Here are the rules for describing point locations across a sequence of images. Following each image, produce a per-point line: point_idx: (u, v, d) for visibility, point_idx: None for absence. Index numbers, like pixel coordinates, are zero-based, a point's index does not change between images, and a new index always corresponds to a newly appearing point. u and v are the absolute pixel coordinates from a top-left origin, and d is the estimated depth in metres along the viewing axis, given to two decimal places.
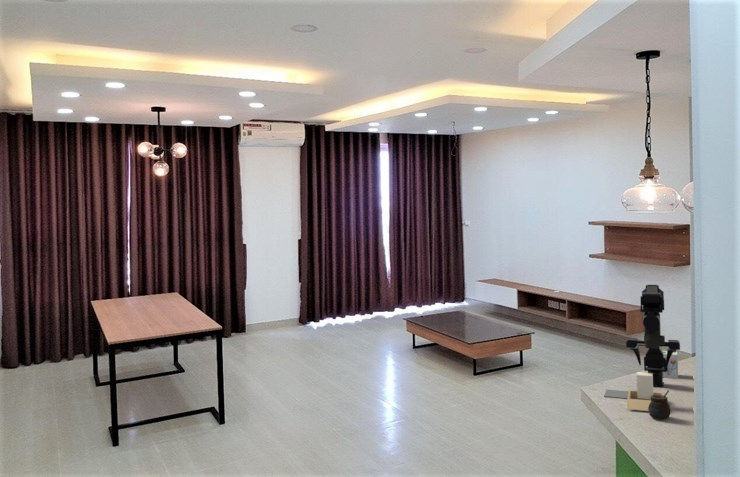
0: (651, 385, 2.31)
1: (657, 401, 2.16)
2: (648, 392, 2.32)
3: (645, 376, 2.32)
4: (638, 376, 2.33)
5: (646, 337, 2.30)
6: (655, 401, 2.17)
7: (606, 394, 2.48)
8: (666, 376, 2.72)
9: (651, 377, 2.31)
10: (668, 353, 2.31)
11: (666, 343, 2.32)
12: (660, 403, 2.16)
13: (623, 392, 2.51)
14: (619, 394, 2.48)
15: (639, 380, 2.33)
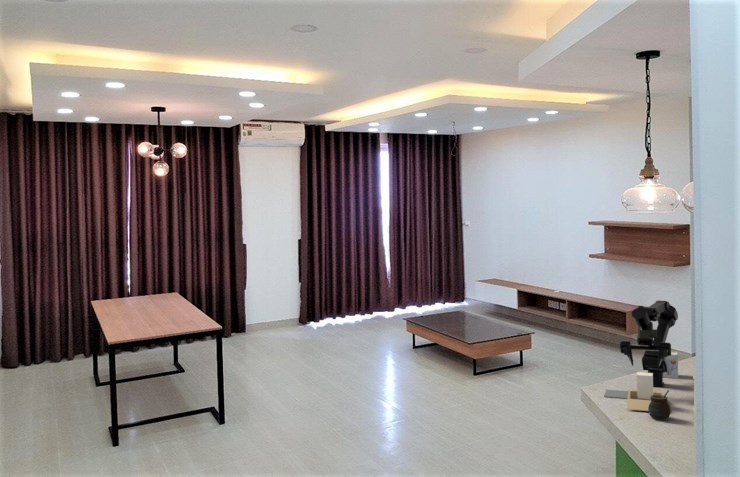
0: (651, 385, 2.31)
1: (657, 401, 2.16)
2: (648, 392, 2.32)
3: (645, 376, 2.32)
4: (638, 376, 2.33)
5: None
6: (655, 401, 2.17)
7: (606, 394, 2.48)
8: (666, 376, 2.72)
9: (651, 377, 2.31)
10: (660, 352, 2.41)
11: (658, 346, 2.44)
12: (660, 403, 2.16)
13: (623, 392, 2.51)
14: (619, 394, 2.48)
15: (639, 380, 2.33)
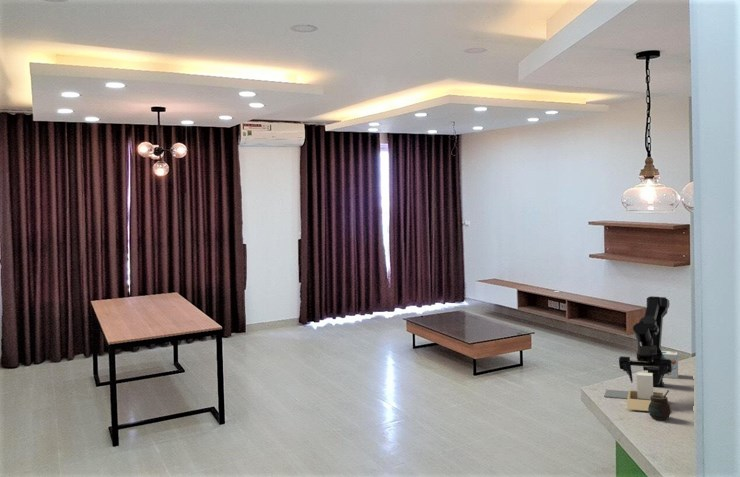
0: (651, 385, 2.31)
1: (657, 401, 2.16)
2: (648, 392, 2.32)
3: (645, 376, 2.32)
4: (638, 376, 2.33)
5: None
6: (655, 401, 2.17)
7: (606, 394, 2.48)
8: (666, 376, 2.72)
9: (651, 377, 2.31)
10: (660, 368, 2.34)
11: (658, 362, 2.38)
12: (660, 403, 2.16)
13: (623, 392, 2.51)
14: (619, 394, 2.48)
15: (639, 380, 2.33)
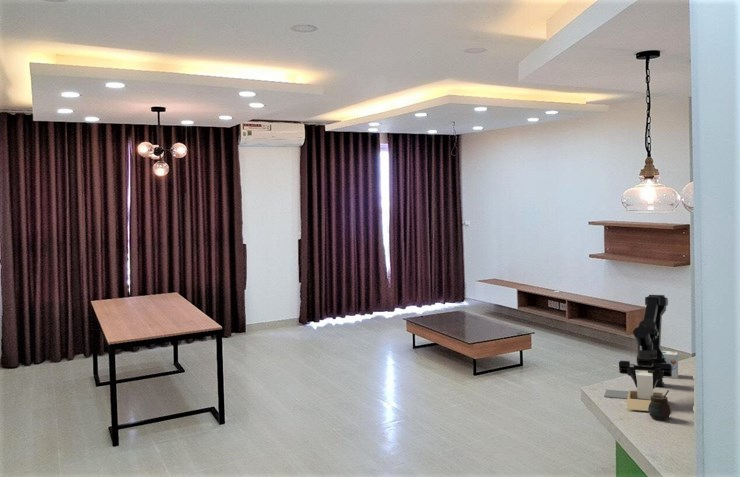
0: (651, 385, 2.31)
1: (657, 401, 2.16)
2: (648, 392, 2.32)
3: (645, 376, 2.32)
4: (638, 376, 2.33)
5: None
6: (655, 401, 2.17)
7: (606, 394, 2.48)
8: None
9: (651, 377, 2.31)
10: (655, 373, 2.34)
11: (658, 367, 2.36)
12: (660, 403, 2.16)
13: (623, 392, 2.51)
14: (619, 394, 2.48)
15: (639, 380, 2.33)
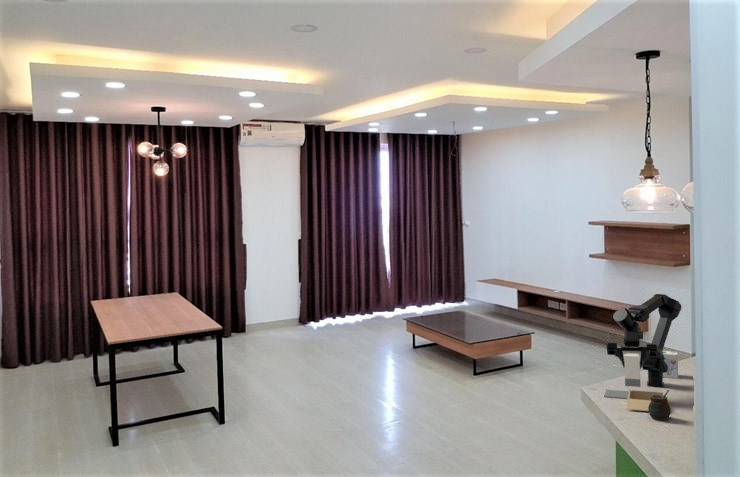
0: (638, 365, 2.38)
1: (657, 401, 2.16)
2: (635, 372, 2.38)
3: (632, 357, 2.39)
4: (625, 357, 2.40)
5: None
6: (655, 401, 2.17)
7: (606, 394, 2.48)
8: (666, 376, 2.72)
9: (638, 357, 2.38)
10: (642, 353, 2.40)
11: (644, 347, 2.43)
12: (660, 403, 2.16)
13: (623, 392, 2.51)
14: (619, 394, 2.48)
15: (626, 361, 2.39)
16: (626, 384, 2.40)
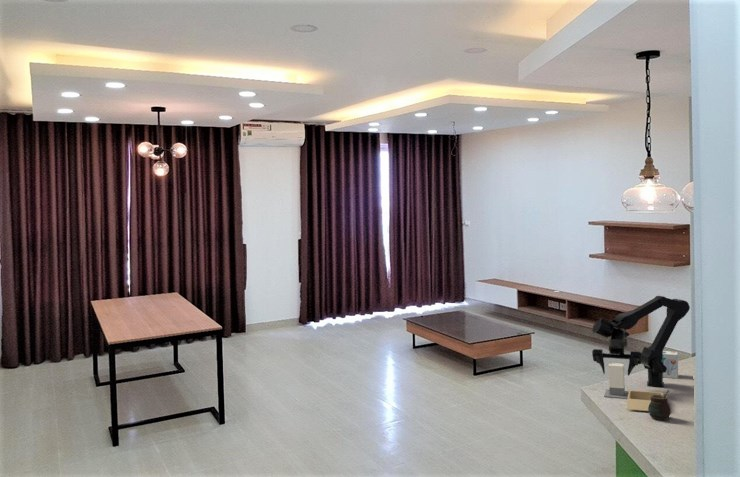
0: (622, 375, 2.46)
1: (657, 401, 2.16)
2: (619, 381, 2.47)
3: (616, 366, 2.47)
4: (610, 366, 2.48)
5: None
6: (655, 401, 2.17)
7: (606, 394, 2.48)
8: (666, 376, 2.72)
9: (622, 367, 2.46)
10: (630, 360, 2.48)
11: (629, 355, 2.51)
12: (660, 403, 2.16)
13: None
14: None
15: (611, 370, 2.48)
16: (610, 393, 2.48)
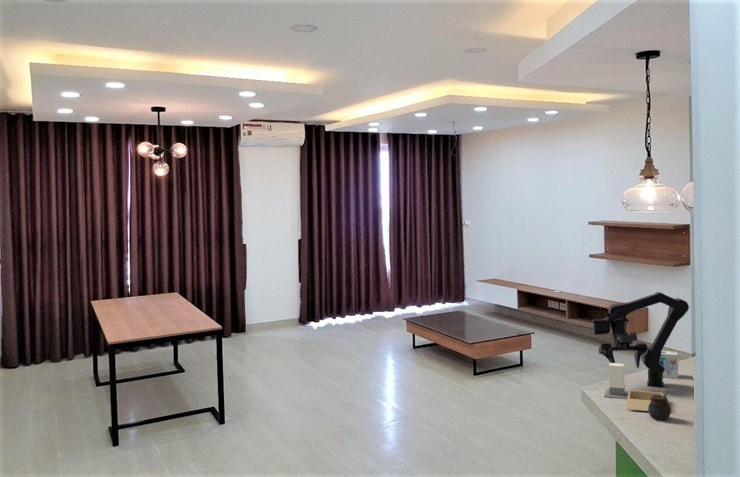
0: (622, 375, 2.46)
1: (657, 401, 2.16)
2: (619, 381, 2.47)
3: (616, 366, 2.47)
4: (610, 366, 2.48)
5: (620, 335, 2.56)
6: (655, 401, 2.17)
7: (606, 394, 2.48)
8: (666, 376, 2.72)
9: (622, 367, 2.46)
10: (638, 353, 2.55)
11: (634, 346, 2.58)
12: (660, 403, 2.16)
13: None
14: None
15: (611, 370, 2.48)
16: (610, 393, 2.48)
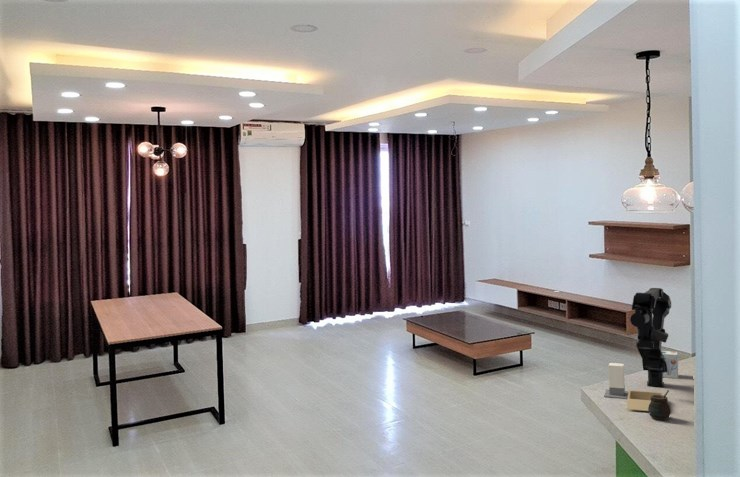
0: (622, 375, 2.46)
1: (657, 401, 2.16)
2: (619, 381, 2.47)
3: (616, 366, 2.47)
4: (610, 366, 2.48)
5: (661, 333, 2.46)
6: (655, 401, 2.17)
7: (606, 394, 2.48)
8: (666, 376, 2.72)
9: (622, 367, 2.46)
10: None
11: None
12: (660, 403, 2.16)
13: None
14: None
15: (611, 370, 2.48)
16: (610, 393, 2.48)
